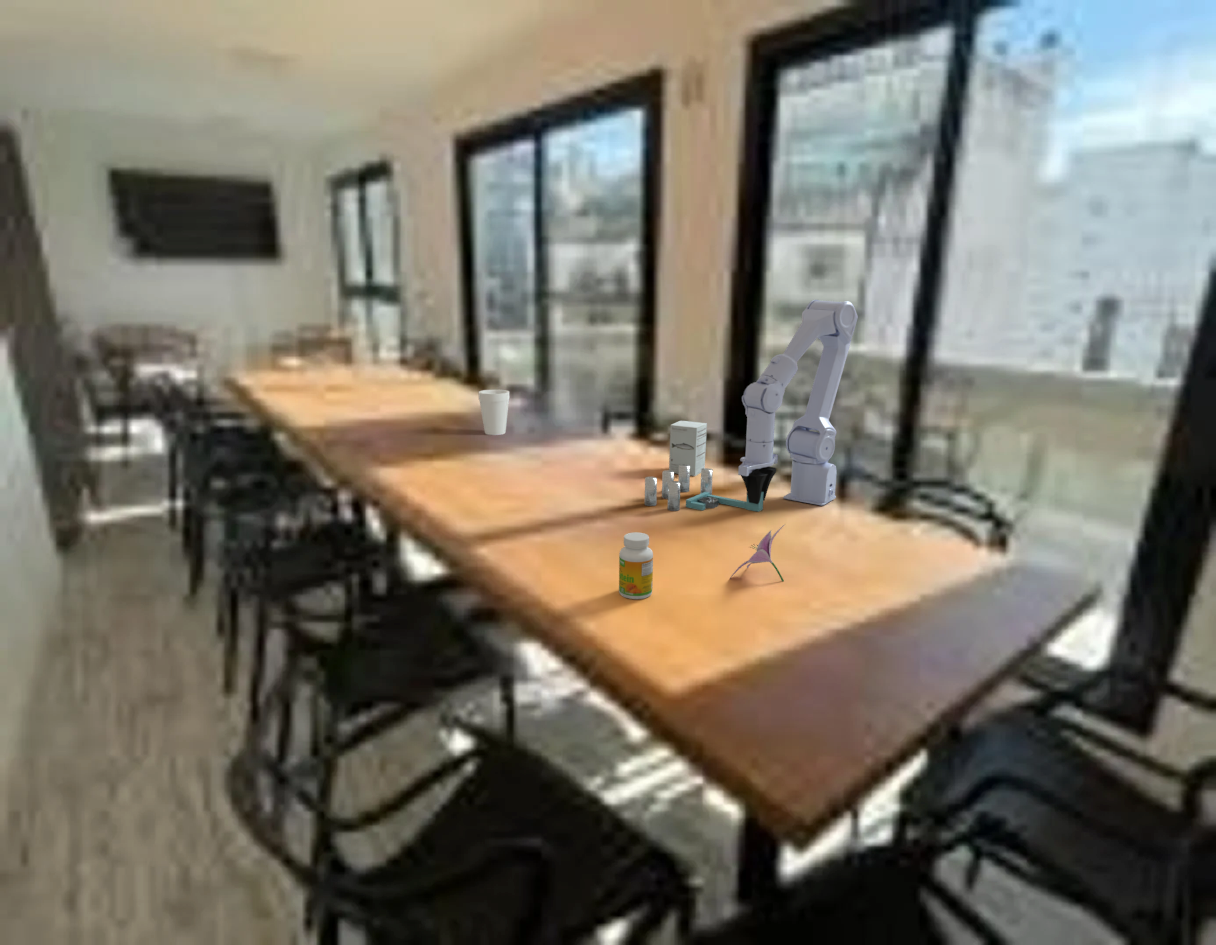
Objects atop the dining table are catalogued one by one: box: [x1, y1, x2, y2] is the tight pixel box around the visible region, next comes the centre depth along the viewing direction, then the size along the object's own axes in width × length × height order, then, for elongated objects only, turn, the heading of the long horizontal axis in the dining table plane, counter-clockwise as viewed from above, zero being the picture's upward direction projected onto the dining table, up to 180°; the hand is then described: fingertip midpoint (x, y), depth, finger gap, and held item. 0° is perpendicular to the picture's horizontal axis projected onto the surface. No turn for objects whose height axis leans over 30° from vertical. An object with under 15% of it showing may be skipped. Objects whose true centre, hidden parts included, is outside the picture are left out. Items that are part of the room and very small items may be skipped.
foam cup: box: [478, 388, 511, 436], centre depth 249 cm, size 10×9×13 cm
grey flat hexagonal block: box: [698, 497, 720, 509], centre depth 176 cm, size 4×5×1 cm
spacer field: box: [644, 464, 714, 512], centre depth 180 cm, size 9×17×6 cm, turn 143°
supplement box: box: [668, 420, 708, 477], centre depth 203 cm, size 7×7×13 cm
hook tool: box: [685, 491, 764, 513], centre depth 174 cm, size 14×9×4 cm, turn 53°
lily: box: [729, 524, 785, 582], centre depth 135 cm, size 12×12×10 cm
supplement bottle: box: [618, 532, 654, 600], centre depth 128 cm, size 5×5×10 cm
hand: (756, 501), depth 173 cm, fingers closed on hook tool, 2 cm apart
